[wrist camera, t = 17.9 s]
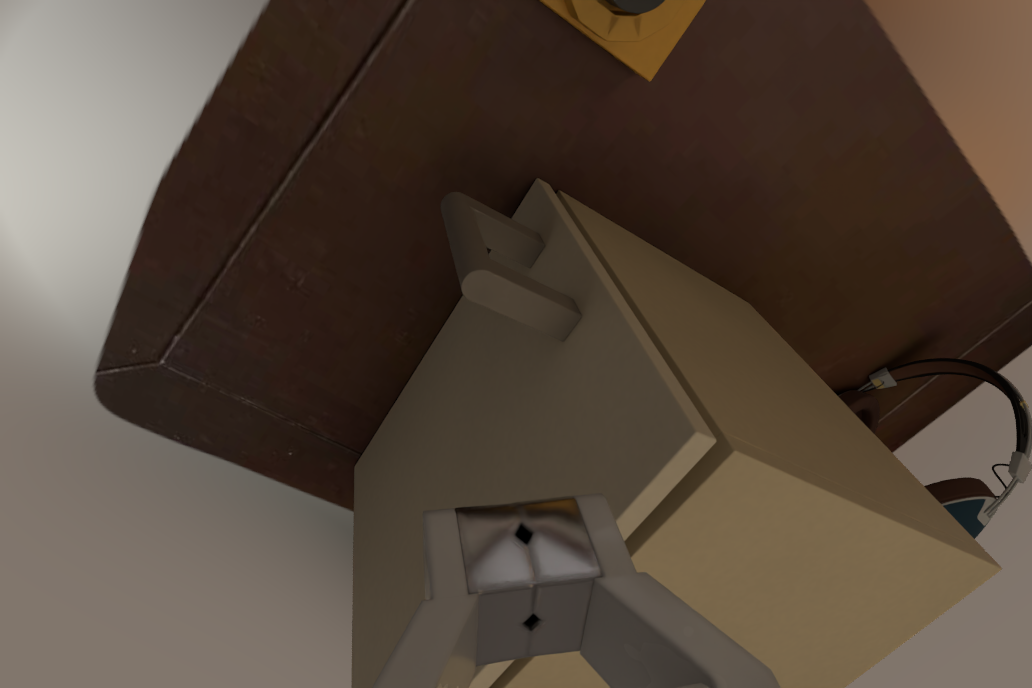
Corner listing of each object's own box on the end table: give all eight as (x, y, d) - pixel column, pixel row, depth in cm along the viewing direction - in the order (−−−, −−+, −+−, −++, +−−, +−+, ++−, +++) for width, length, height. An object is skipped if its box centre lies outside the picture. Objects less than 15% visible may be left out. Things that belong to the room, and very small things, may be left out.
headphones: (745, 512, 62) (936, 349, 57) (856, 654, 49) (1112, 458, 45) (710, 484, 58) (910, 309, 54) (819, 627, 46) (1091, 414, 41)
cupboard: (369, 469, 51) (373, 822, 32) (558, 189, 41) (735, 450, 22) (552, 526, 59) (647, 836, 40) (748, 302, 49) (1003, 569, 30)
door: (279, 445, 48) (224, 812, 29) (454, 130, 38) (551, 371, 19) (366, 470, 51) (368, 818, 32) (550, 184, 41) (718, 441, 22)
